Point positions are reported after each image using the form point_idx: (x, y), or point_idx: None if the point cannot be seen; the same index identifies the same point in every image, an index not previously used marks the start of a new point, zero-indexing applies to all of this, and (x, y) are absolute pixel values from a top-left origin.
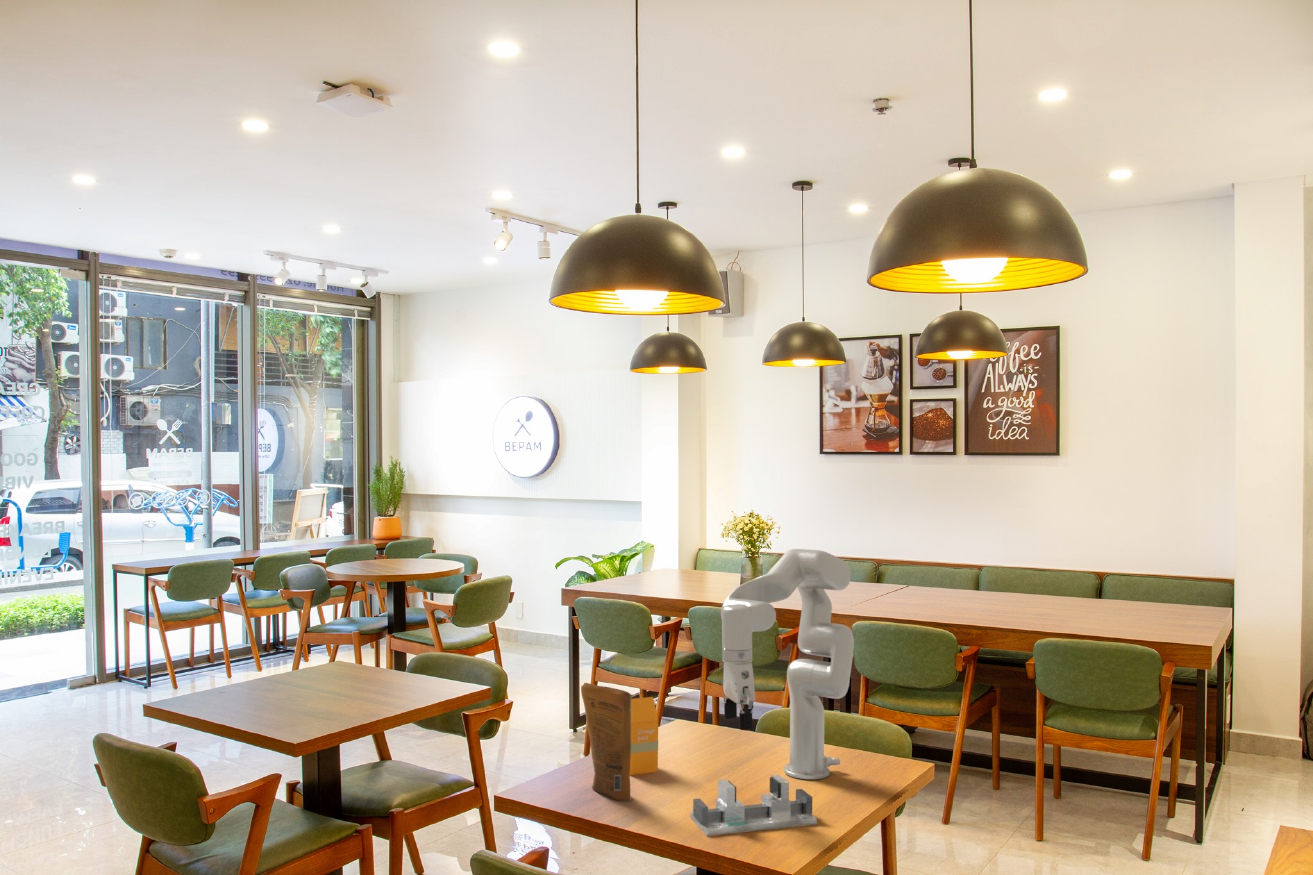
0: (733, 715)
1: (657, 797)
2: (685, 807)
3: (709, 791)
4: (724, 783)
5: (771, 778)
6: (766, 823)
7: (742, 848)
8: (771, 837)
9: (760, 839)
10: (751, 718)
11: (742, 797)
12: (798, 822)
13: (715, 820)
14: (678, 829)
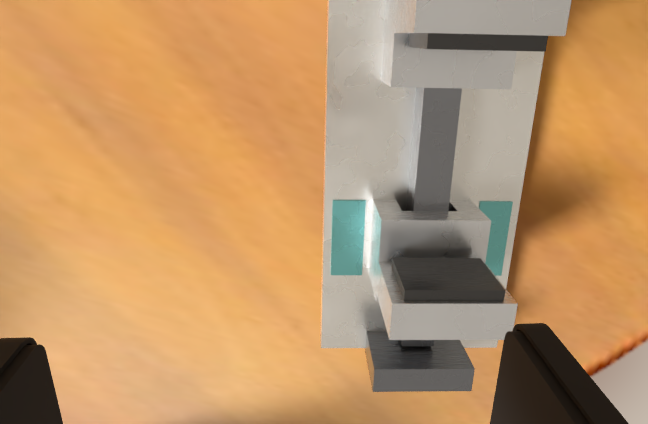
0: (38, 397)
1: (99, 377)
2: (219, 320)
3: (53, 179)
4: (448, 329)
5: (450, 49)
6: (530, 129)
7: (625, 268)
8: (591, 138)
9: (589, 184)
10: (609, 414)
11: (150, 68)
12: None
13: None
14: (405, 393)
